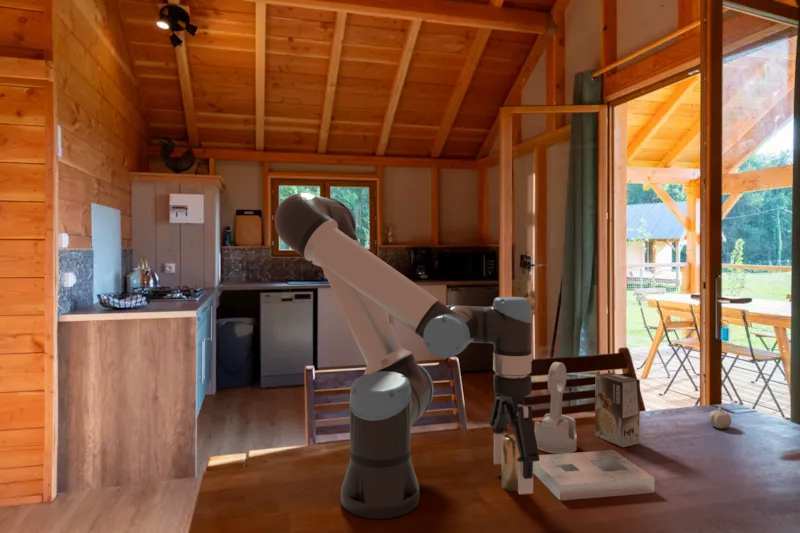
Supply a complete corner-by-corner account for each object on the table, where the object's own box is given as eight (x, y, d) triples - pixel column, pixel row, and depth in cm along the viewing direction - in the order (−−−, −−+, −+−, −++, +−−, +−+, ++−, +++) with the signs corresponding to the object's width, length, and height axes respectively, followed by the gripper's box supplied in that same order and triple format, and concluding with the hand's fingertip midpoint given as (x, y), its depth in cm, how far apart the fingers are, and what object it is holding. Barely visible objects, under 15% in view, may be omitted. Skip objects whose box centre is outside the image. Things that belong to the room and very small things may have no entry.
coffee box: (640, 443, 125) (641, 379, 124) (622, 448, 122) (623, 382, 122) (611, 431, 133) (612, 371, 133) (593, 435, 131) (594, 374, 130)
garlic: (712, 422, 141) (712, 403, 141) (734, 427, 137) (734, 408, 137) (704, 427, 137) (704, 408, 137) (726, 432, 133) (727, 413, 133)
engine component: (527, 447, 123) (568, 457, 117) (528, 364, 122) (569, 370, 116) (544, 434, 131) (583, 443, 125) (545, 356, 131) (584, 361, 125)
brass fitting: (505, 491, 100) (506, 442, 100) (498, 482, 104) (498, 434, 104) (524, 490, 101) (525, 441, 100) (517, 481, 105) (517, 433, 104)
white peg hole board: (559, 500, 97) (560, 485, 96) (529, 469, 110) (529, 455, 110) (654, 492, 100) (654, 477, 100) (613, 463, 113) (613, 450, 113)
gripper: (558, 389, 90) (558, 506, 90) (507, 359, 114) (507, 451, 115) (518, 391, 89) (518, 509, 89) (475, 361, 113) (475, 454, 114)
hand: (512, 477), depth 102 cm, fingers open, 13 cm apart
